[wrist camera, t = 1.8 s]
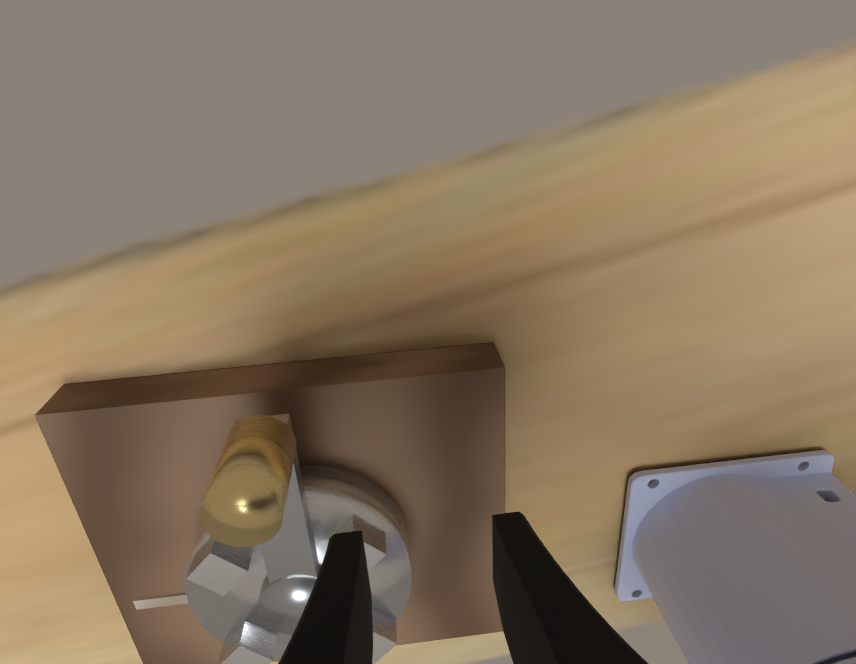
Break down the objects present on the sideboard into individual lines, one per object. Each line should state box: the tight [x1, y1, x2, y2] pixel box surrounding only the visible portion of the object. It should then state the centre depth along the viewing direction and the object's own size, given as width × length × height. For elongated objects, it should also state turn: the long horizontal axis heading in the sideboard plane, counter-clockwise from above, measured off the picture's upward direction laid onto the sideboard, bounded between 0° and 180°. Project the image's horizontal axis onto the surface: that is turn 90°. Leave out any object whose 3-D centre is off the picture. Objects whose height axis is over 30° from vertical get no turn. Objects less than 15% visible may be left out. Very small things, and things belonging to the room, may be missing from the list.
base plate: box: [35, 342, 505, 664], centre depth 23 cm, size 16×14×2 cm
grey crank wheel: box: [185, 414, 411, 664], centre depth 19 cm, size 12×8×6 cm, turn 4°
